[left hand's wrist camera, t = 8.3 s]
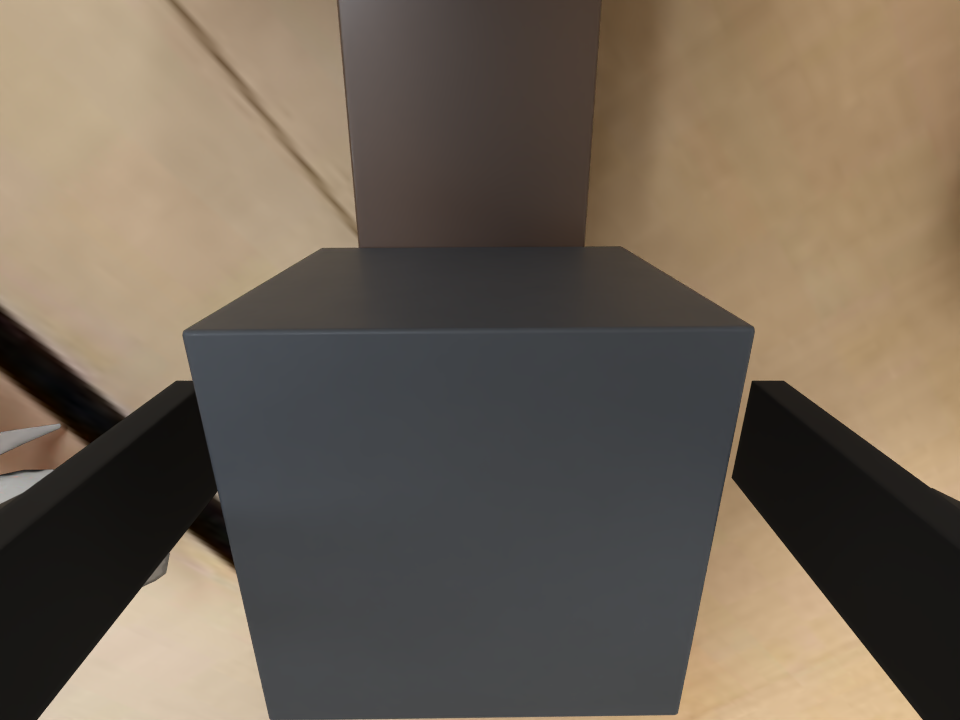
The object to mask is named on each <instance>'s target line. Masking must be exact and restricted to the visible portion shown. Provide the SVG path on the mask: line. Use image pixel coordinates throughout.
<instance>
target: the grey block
mask: <svg viewBox="0 0 960 720" xmlns="http://www.w3.org/2000/svg"><path fill="white" fill-rule="evenodd" d="M754 333H755V330H754V327H753V326H751V325H750V324H748V323H746V322H745V321H743V320H742V319H740V318H738V317H737V316H735V315H733V314H732V313H730V312H728V311H727V310H725V309H723V308H722V307H720V306H718V305H717V304H715V303H714V302H712V301H710V300H709V299H707V298H705V297H704V296H702V295H700V294H699V293H697V292H695V291H694V290H692V289H690V288H689V287H687V286H685V285H684V284H682V283H681V282H679V281H677V280H676V279H674V278H672V277H671V276H669V275H667V274H666V273H664V272H662V271H661V270H659V269H657V268H656V267H654V266H652V265H651V264H649V263H648V262H646V261H644V260H643V259H641V258H639V257H638V256H636V255H634V254H633V253H631V252H629V251H628V250H626V249H624V248H623V247H621V246H617V247H431V248H321V249H320V250H318V251H316V252H314V253H313V254H311V255H309V256H308V257H306V258H304V259H303V260H301V261H299V262H298V263H296V264H294V265H293V266H291V267H289V268H288V269H286V270H284V271H283V272H281V273H279V274H278V275H276V276H274V277H273V278H271V279H269V280H268V281H266V282H264V283H263V284H261V285H259V286H258V287H256V288H254V289H253V290H251V291H249V292H248V293H246V294H244V295H243V296H241V297H239V298H238V299H236V300H234V301H232V302H231V303H229V304H227V305H226V306H224V307H222V308H221V309H219V310H217V311H216V312H214V313H212V314H211V315H209V316H207V317H206V318H204V319H202V320H201V321H199V322H197V323H196V324H194V325H192V326H191V327H189V328H187V329H186V330H184V331H183V340H184V344H185V349H186V353H187V358H188V362H189V366H190V371H191V375H192V380H193V384H194V388H195V393H196V397H197V402H198V406H199V410H200V415H201V419H202V424H203V428H204V432H205V437H206V441H207V446H208V450H209V454H210V459H211V463H212V468H213V472H214V476H215V481H216V485H217V490H218V494H219V499H220V503H221V507H222V512H223V516H224V521H225V525H226V529H227V534H228V538H229V543H230V547H231V551H232V556H233V560H234V565H235V569H236V573H237V578H238V582H239V587H240V591H241V595H242V600H243V604H244V609H245V613H246V617H247V622H248V626H249V631H250V635H251V639H252V644H253V648H254V653H255V657H256V661H257V666H258V670H259V675H260V679H261V683H262V688H263V692H264V697H265V701H266V705H267V710H268V714H269V719H270V720H343V719H417V718H491V717H565V716H639V715H676V714H677V713H678V709H679V704H680V699H681V694H682V690H683V685H684V680H685V675H686V670H687V665H688V660H689V655H690V650H691V645H692V640H693V635H694V630H695V625H696V620H697V615H698V610H699V605H700V600H701V595H702V590H703V585H704V581H705V576H706V571H707V566H708V561H709V556H710V551H711V546H712V541H713V536H714V531H715V526H716V521H717V516H718V511H719V506H720V501H721V496H722V491H723V486H724V481H725V477H726V472H727V467H728V462H729V457H730V452H731V447H732V442H733V437H734V432H735V427H736V422H737V417H738V412H739V407H740V402H741V397H742V392H743V387H744V382H745V377H746V372H747V368H748V363H749V358H750V353H751V348H752V343H753V338H754Z"/></svg>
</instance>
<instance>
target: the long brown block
mask: <svg viewBox="0 0 960 720" xmlns="http://www.w3.org/2000/svg"><path fill="white" fill-rule="evenodd" d="M601 2H602V0H337V7H338V18H339V29H340V40H341V52H342V63H343V74H344V85H345V97H346V108H347V119H348V130H349V142H350V153H351V164H352V175H353V187H354V198H355V209H356V221H357V232H358V243H359V248H431V247H584V245H585V231H586V217H587V202H588V188H589V174H590V160H591V145H592V131H593V117H594V102H595V88H596V74H597V59H598V45H599V31H600V17H601Z"/></svg>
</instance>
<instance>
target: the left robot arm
mask: <svg viewBox="0 0 960 720" xmlns="http://www.w3.org/2000/svg"><path fill="white" fill-rule="evenodd" d="M732 479H733V480H734V481H735V483H736V484H737V485H738V486H739V488H740V489H741V490H742V491H743V493H744V494H745V495H746V496H747V498H748V499H749V500H750V502H751V503H752V504H753V505H754V507H755V508H756V509H757V510H758V512H759V513H760V514H761V515H762V517H763V518H764V519H765V521H766V522H767V523H768V524H769V526H770V527H771V528H772V529H773V531H774V532H775V533H776V534H777V536H778V537H779V538H780V540H781V541H782V542H783V543H784V545H785V546H786V547H787V548H788V550H789V551H790V552H791V553H792V555H793V556H794V557H795V559H796V560H797V561H798V562H799V564H800V565H801V566H802V567H803V569H804V570H805V571H806V572H807V574H808V575H809V576H810V578H811V579H812V580H813V581H814V583H815V584H816V585H817V586H818V588H819V589H820V590H821V591H822V593H823V594H824V595H825V597H826V598H827V599H828V600H829V602H830V603H831V604H832V605H833V607H834V608H835V609H836V610H837V612H838V613H839V614H840V616H841V617H842V618H843V619H844V621H845V622H846V623H847V624H848V626H849V627H850V628H851V629H852V631H853V632H854V633H855V635H856V636H857V637H858V638H859V640H860V641H861V642H862V643H863V645H864V646H865V647H866V648H867V650H868V651H869V652H870V653H871V655H872V656H873V657H874V659H875V660H876V661H877V662H878V664H879V665H880V666H881V667H882V669H883V670H884V671H885V672H886V674H887V675H888V676H889V678H890V679H891V680H892V681H893V683H894V684H895V685H896V686H897V688H898V689H899V690H900V691H901V693H902V694H903V695H904V697H905V698H906V699H907V700H908V702H909V703H910V704H911V705H912V707H913V708H914V709H915V710H916V712H917V713H918V714H919V716H920V717H921V718H922V719H923V720H960V501H958V500H956V499H954V498H952V497H950V496H947V495H945V494H943V493H941V492H939V491H937V490H935V489H933V488H930V487H929V486H927V485H926V484H924V483H923V482H922V481H920V480H919V479H918V478H916V477H915V476H913V475H912V474H911V473H909V472H908V471H907V470H905V469H904V468H903V467H901V466H900V465H898V464H897V463H896V462H894V461H893V460H892V459H890V458H889V457H887V456H886V455H885V454H883V453H882V452H881V451H879V450H878V449H876V448H875V447H874V446H872V445H871V444H870V443H868V442H867V441H866V440H864V439H863V438H861V437H860V436H859V435H857V434H856V433H855V432H853V431H852V430H850V429H849V428H848V427H846V426H845V425H844V424H842V423H841V422H840V421H838V420H837V419H835V418H834V417H833V416H831V415H830V414H829V413H827V412H826V411H824V410H823V409H822V408H820V407H819V406H818V405H816V404H815V403H813V402H812V401H811V400H809V399H808V398H807V397H805V396H804V395H803V394H801V393H800V392H798V391H797V390H796V389H794V388H793V387H792V386H790V385H789V384H787V383H786V382H785V381H752V383H751V388H750V393H749V398H748V402H747V407H746V412H745V417H744V421H743V426H742V431H741V436H740V441H739V445H738V450H737V455H736V460H735V464H734V469H733V474H732ZM217 491H218V490H217V485H216V481H215V476H214V472H213V468H212V463H211V459H210V454H209V450H208V446H207V441H206V437H205V432H204V428H203V424H202V419H201V415H200V410H199V406H198V402H197V397H196V393H195V388H194V384H193V381H175V382H174V383H173V384H171V385H170V386H168V387H167V388H166V389H164V390H163V391H162V392H160V393H159V394H157V395H156V396H155V397H153V398H152V399H151V400H149V401H148V402H147V403H145V404H144V405H142V406H141V407H140V408H138V409H137V410H136V411H134V412H133V413H131V414H130V415H129V416H127V417H126V418H125V419H123V420H122V421H120V422H119V423H118V424H116V425H115V426H114V427H112V428H111V429H110V430H108V431H107V432H105V433H104V434H103V435H101V436H100V437H99V438H97V439H96V440H94V441H93V442H92V443H90V444H89V445H88V446H86V447H85V448H84V449H82V450H81V451H79V452H78V453H77V454H75V455H74V456H73V457H71V458H70V459H68V460H67V461H66V462H64V463H63V464H62V465H60V466H59V467H57V468H56V469H55V470H53V471H52V472H51V473H49V474H48V475H47V476H45V477H44V478H42V479H41V480H40V481H38V482H37V483H36V484H34V485H33V486H31V487H30V488H29V489H27V490H26V491H25V492H23V493H21V494H19V495H17V496H15V497H13V498H11V499H9V500H7V501H5V502H3V503H1V504H0V720H37V719H38V718H39V717H40V716H41V714H42V713H43V712H44V710H45V709H46V708H47V707H48V705H49V704H50V703H51V702H52V700H53V699H54V698H55V697H56V695H57V694H58V693H59V691H60V690H61V689H62V688H63V686H64V685H65V684H66V683H67V681H68V680H69V679H70V678H71V676H72V675H73V674H74V672H75V671H76V670H77V669H78V667H79V666H80V665H81V664H82V662H83V661H84V660H85V659H86V657H87V656H88V655H89V653H90V652H91V651H92V650H93V648H94V647H95V646H96V645H97V643H98V642H99V641H100V640H101V638H102V637H103V636H104V635H105V633H106V632H107V631H108V629H109V628H110V627H111V626H112V624H113V623H114V622H115V621H116V619H117V618H118V617H119V616H120V614H121V613H122V612H123V610H124V609H125V608H126V607H127V605H128V604H129V603H130V602H131V600H132V599H133V598H134V597H135V595H136V594H137V593H138V591H139V590H140V589H141V588H142V586H143V585H144V584H145V583H146V581H147V580H148V579H149V578H150V576H151V575H152V574H153V572H154V571H155V570H156V569H157V567H158V566H159V565H160V564H161V562H162V561H163V560H164V559H165V557H166V556H167V555H168V553H169V552H170V551H171V550H172V548H173V547H174V546H175V545H176V543H177V542H178V541H179V540H180V538H181V537H182V536H183V534H184V533H185V532H186V531H187V529H188V528H189V527H190V526H191V524H192V523H193V522H194V521H195V519H196V518H197V517H198V515H199V514H200V513H201V512H202V510H203V509H204V508H205V507H206V505H207V504H208V503H209V502H210V500H211V499H212V498H213V496H214V495H215V494H216V493H217Z"/></svg>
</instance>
